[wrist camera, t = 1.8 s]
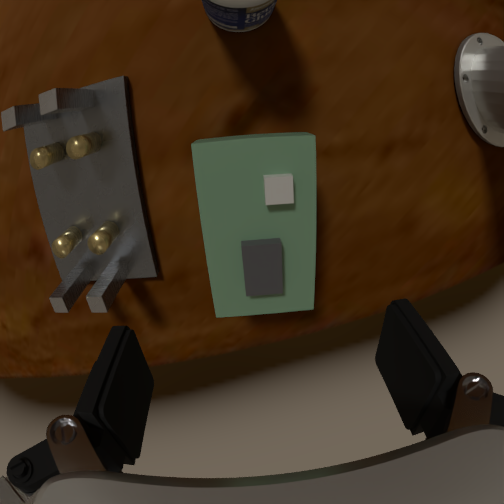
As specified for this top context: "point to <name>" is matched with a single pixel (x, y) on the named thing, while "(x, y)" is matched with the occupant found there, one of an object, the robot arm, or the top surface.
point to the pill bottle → (239, 13)
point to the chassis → (88, 189)
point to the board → (258, 221)
